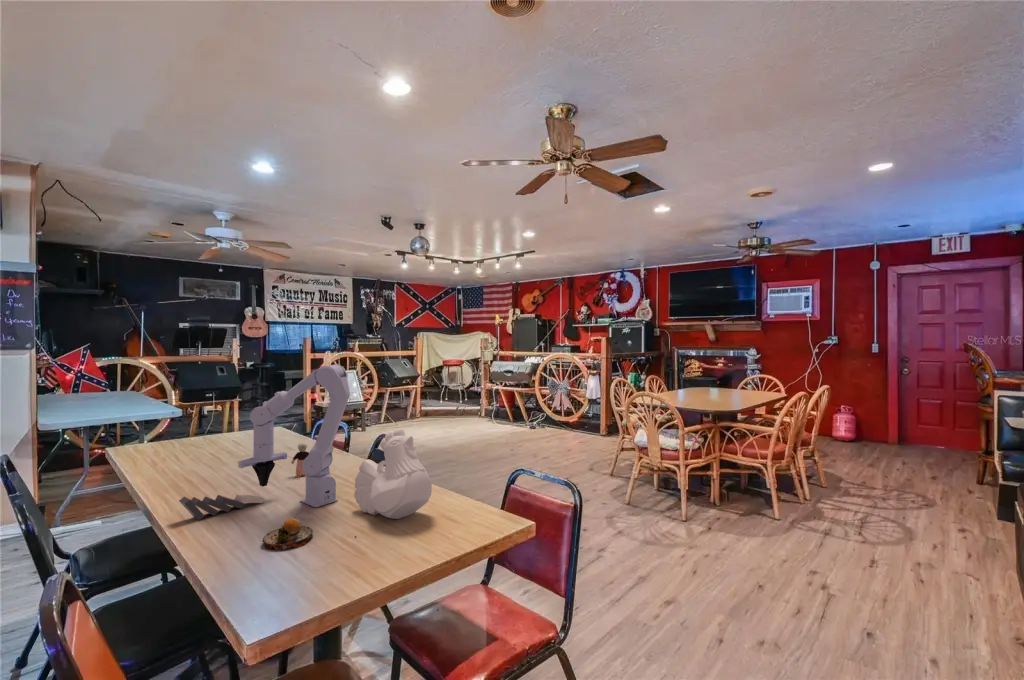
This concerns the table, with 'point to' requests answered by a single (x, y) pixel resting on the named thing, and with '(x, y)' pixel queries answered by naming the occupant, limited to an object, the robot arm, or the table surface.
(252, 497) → the ivory tile
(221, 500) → the tile
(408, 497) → the decorative rooster
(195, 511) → the tile
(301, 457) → the grandmother figurine
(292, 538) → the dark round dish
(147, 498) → the table surface
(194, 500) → the tile
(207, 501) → the tile
